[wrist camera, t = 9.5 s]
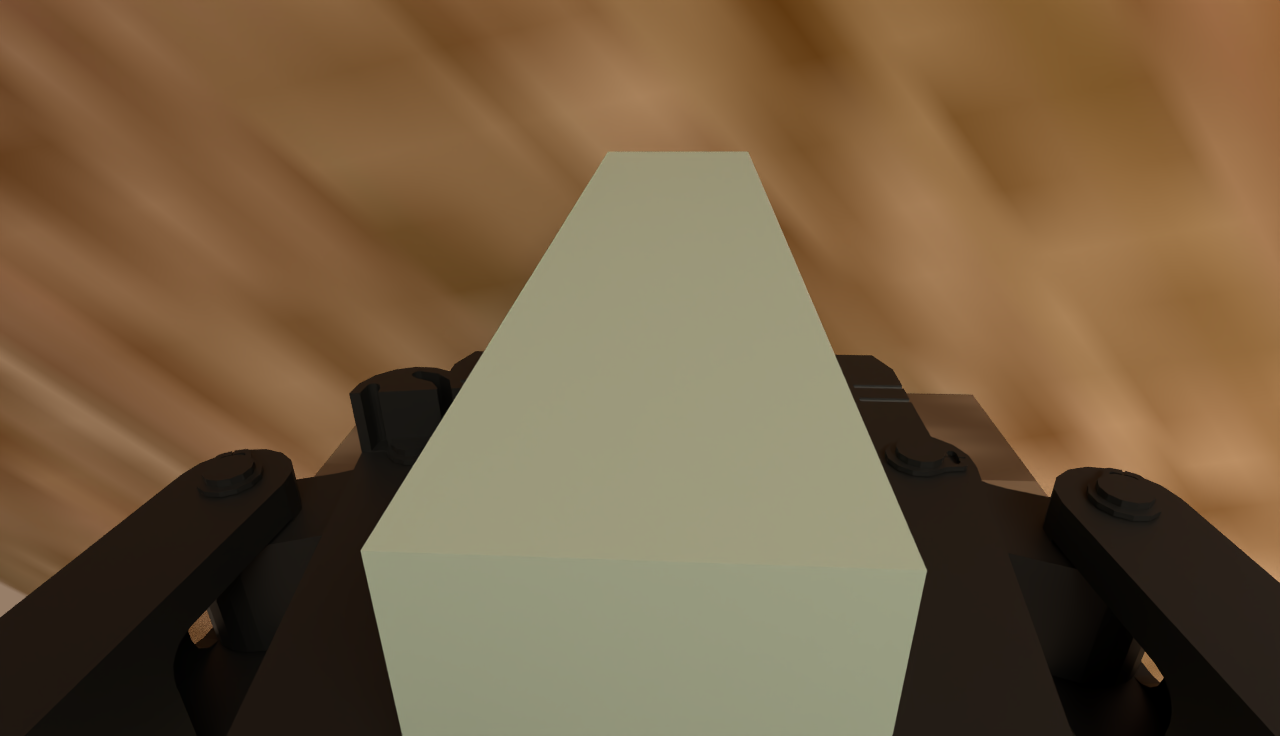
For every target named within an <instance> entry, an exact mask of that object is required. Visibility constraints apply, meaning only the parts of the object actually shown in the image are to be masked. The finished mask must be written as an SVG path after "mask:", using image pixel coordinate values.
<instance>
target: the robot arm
mask: <svg viewBox="0 0 1280 736" xmlns="http://www.w3.org/2000/svg"><path fill="white" fill-rule="evenodd" d="M483 353H484V351H475V352H474V353H472V354H471V355H469V356H467V357H466V358H464V359H462V360H461V361H459V362H458V363H456V364H455V365H454V366H453V368H452V369H451V371H446V370H442V369H438V368H428V367H413V368H405V369H397V370H393V371H389V372H386V373H382V374H379V375H375V376H373V377H371V378H370V379H368V380H366V381H364V382H362V383H360V384H359V385H358V386H357V387H355V388H354V389H353V390H352V391H351V392H350V393H349V394H350V399H351V404H352V408H353V413H354V418H355V423H356V427H357V432H358V437H359V442H360V446H361V451H362V453H361V455H360V457H359V459H358V461H357V463H356V465H355V468H354V470H350V471H345V472H340V473H335V474H329V475H323V476H316V477H310V478H304V479H298V480H296V477H295V473H294V469H293V465H292V462H291V460H290V459H289V458H288V457H287V456H285V455H284V454H283V453H281V452H276V451H272V450H267V449H258V450H248V449H244V450H236V451H235V452H233V453H232V451H231V452H227V453H223V454H220V455H218V456H216V457H215V458H213V459H210V460H207V461H205V462H202V463H200V464H198V465H196V466H195V467H193V468H192V469H190V470H188V471H187V472H185V473H183V474H182V475H180V476H179V477H178V478H177V479H175V480H174V481H173V482H172V483H170V484H169V485H168V486H166V487H165V488H164V489H163V490H161V491H160V492H159V493H158V494H156V495H155V496H154V497H152V498H151V499H150V500H149V501H147V502H146V503H145V504H144V505H142V506H141V507H140V508H139V509H137V510H136V511H135V512H133V513H132V514H131V515H130V516H128V517H127V518H126V519H125V520H123V521H122V522H121V523H120V524H118V525H117V526H116V527H114V528H113V529H112V530H111V531H109V532H108V533H107V534H106V535H104V536H103V537H102V538H100V539H99V540H98V541H97V542H95V543H94V544H93V545H92V546H90V547H89V548H88V549H87V550H85V551H84V552H83V553H81V554H80V555H79V556H78V557H76V558H75V559H74V560H73V561H71V562H70V563H69V564H67V565H66V566H65V567H64V568H62V569H61V570H60V571H59V572H57V573H56V574H55V575H54V576H52V577H51V578H50V579H48V580H47V581H46V582H45V583H43V584H42V585H41V586H40V587H38V588H37V589H36V590H35V591H33V592H32V593H31V594H29V595H28V596H27V597H26V598H24V599H23V600H22V601H21V602H19V603H18V604H17V605H15V606H14V607H13V608H12V609H11V610H9V611H8V612H7V613H6V614H4V615H3V616H2V617H0V736H402V732H401V727H400V723H399V719H398V714H397V710H396V705H395V701H394V697H393V692H392V688H391V683H390V679H389V674H388V670H387V666H386V661H385V657H384V652H383V648H382V643H381V639H380V635H379V630H378V626H377V621H376V617H375V613H374V608H373V604H372V599H371V595H370V590H369V586H368V582H367V577H366V573H365V568H364V564H363V560H362V555H361V549H362V548H363V546H364V544H365V543H366V541H367V540H368V538H369V536H370V535H371V533H372V532H373V530H374V528H375V527H376V525H377V523H378V522H379V520H380V519H381V517H382V515H383V514H384V512H385V511H386V509H387V507H388V506H389V504H390V502H391V501H392V499H393V498H394V496H395V494H396V493H397V491H398V490H399V488H400V486H401V485H402V483H403V482H404V480H405V478H406V477H407V475H408V473H409V472H410V470H411V469H412V467H413V465H414V464H415V462H416V461H417V459H418V457H419V456H420V454H421V453H422V451H423V449H424V448H425V446H426V444H427V443H428V441H429V440H430V438H431V436H432V435H433V433H434V432H435V430H436V428H437V427H438V425H439V423H440V422H441V420H442V419H443V417H444V415H445V414H446V412H447V411H448V409H449V407H450V406H451V404H452V403H453V401H454V399H455V398H456V396H457V394H458V393H459V391H460V390H461V388H462V386H463V385H464V383H465V382H466V380H467V378H468V377H469V375H470V373H471V372H472V370H473V369H474V367H475V365H476V364H477V362H478V361H479V359H480V357H481V356H482V354H483ZM835 356H836V359H837V361H838V363H839V366H840V368H841V370H842V373H843V375H844V378H845V380H846V382H847V385H848V387H849V389H850V392H851V394H852V396H853V399H854V401H855V403H856V406H857V408H858V410H859V413H860V415H861V417H862V420H863V422H864V424H865V427H866V429H867V431H868V434H869V436H870V438H871V441H872V443H873V445H874V448H875V450H876V452H877V455H878V457H879V459H880V462H881V464H882V466H883V469H884V471H885V473H886V476H887V478H888V481H889V483H890V485H891V488H892V490H893V492H894V495H895V497H896V499H897V502H898V504H899V506H900V509H901V511H902V513H903V516H904V518H905V520H906V523H907V525H908V527H909V530H910V532H911V534H912V537H913V539H914V541H915V544H916V546H917V548H918V551H919V553H920V555H921V558H922V560H923V562H924V565H925V567H926V569H927V573H926V578H925V582H924V587H923V592H922V597H921V601H920V606H919V611H918V616H917V621H916V625H915V630H914V635H913V640H912V644H911V649H910V654H909V659H908V664H907V668H906V673H905V678H904V683H903V687H902V692H901V697H900V702H899V707H898V711H897V716H896V721H895V726H894V731H893V735H892V736H1280V583H1279V582H1278V581H1277V580H1276V579H1275V578H1273V577H1272V576H1271V575H1270V574H1269V573H1267V572H1266V571H1265V570H1264V569H1263V568H1262V567H1260V566H1259V565H1258V564H1257V563H1256V562H1255V561H1253V560H1252V559H1251V558H1250V557H1249V556H1248V555H1246V554H1245V553H1244V552H1243V551H1242V550H1241V549H1239V548H1238V547H1237V546H1236V545H1235V544H1234V543H1232V542H1231V541H1230V540H1229V539H1228V538H1227V537H1225V536H1224V535H1223V534H1222V533H1221V532H1220V531H1218V530H1217V529H1216V528H1215V527H1214V526H1213V525H1211V524H1210V523H1209V522H1208V521H1207V520H1206V519H1204V518H1203V517H1202V516H1201V515H1200V514H1199V513H1197V512H1196V511H1195V510H1194V509H1193V508H1192V507H1190V506H1189V505H1188V504H1187V503H1186V502H1185V501H1183V500H1182V499H1181V498H1179V497H1178V496H1176V495H1175V494H1173V493H1172V492H1170V491H1169V490H1167V489H1166V488H1164V487H1163V486H1161V485H1159V484H1156V483H1154V482H1151V481H1149V480H1147V479H1144V478H1143V477H1141V476H1140V475H1137V474H1134V473H1131V472H1127V471H1125V472H1122V470H1118V469H1113V468H1095V467H1083V468H1076V469H1070V470H1067V471H1065V472H1064V473H1062V474H1061V475H1059V476H1058V477H1056V481H1055V484H1054V488H1053V491H1052V495H1051V497H1046V496H1041V495H1036V494H1031V493H1027V492H1022V491H1017V490H1012V489H1007V488H1004V487H1000V486H996V485H992V484H989V483H986V482H984V481H982V480H981V477H980V474H979V471H978V468H977V466H976V465H975V464H974V462H973V461H972V459H971V458H970V457H969V455H967V454H966V453H964V452H963V451H961V450H960V449H958V448H957V447H956V446H954V445H952V444H950V443H947V442H944V441H942V440H939V439H937V438H934V437H931V436H930V434H929V432H928V430H927V429H926V427H925V425H924V423H923V422H922V420H921V418H920V416H919V415H918V413H917V411H916V409H915V408H914V406H913V404H912V402H909V397H908V395H907V394H906V392H905V390H904V389H902V385H901V383H900V381H899V380H898V378H897V376H896V374H895V373H894V371H893V369H891V368H890V367H888V366H887V365H885V364H884V363H882V362H881V361H879V360H878V359H876V358H875V357H873V356H870V355H835ZM206 610H207V611H208V614H209V617H210V619H211V622H212V625H213V628H212V629H211V630H210V631H209V632H208V633H207V635H206V636H205V637H204V638H203V639H201V640H200V641H199V642H197V643H196V644H194V643H193V642H192V640H191V638H190V635H189V632H188V630H189V628H190V627H191V626H192V625H193V624H194V622H195V621H196V620H197V619H198V618H199V617H200V616H201V615H202V614H203V613H204V612H205V611H206ZM1144 652H1146V653H1147V654H1148V656H1149V657H1150V658H1151V659H1152V660H1153V662H1154V663H1155V664H1156V666H1157V667H1158V669H1159V671H1160V672H1161V674H1162V675H1163V677H1164V678H1163V680H1162V681H1161V683H1160V682H1159V681H1158V680H1157V679H1156V678H1154V677H1153V676H1152V674H1151V673H1150V672H1149V671H1148V670H1147V668H1146V667H1145V666H1144V665H1143V663H1142V662H1141V659H1142V657H1143V655H1144Z"/></svg>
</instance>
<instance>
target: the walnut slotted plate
mask: <svg viewBox="0 0 1280 736" xmlns="http://www.w3.org/2000/svg"><path fill="white" fill-rule="evenodd" d="M907 395H908V397H909V402H912V404H913V406H914V408H915V409H916V411H917V413H918V415H919V416H920V418H921V420H922V422H923V423H924V425H925V427H926V429H927V430H928V432H929V434H930V436H931V437H934V438H937V439H939V440H942V441H944V442H947V443H950V444H952V445H954V446H956V447H957V448H958V449H960V450H961V451H963V452H964V453H966V454H967V455H969V457H970V458H971V459H972V461H973V462H974V464H975V465H976V466H977V468H978V471H979V474H980V477H981V480H982V481H984V482H986V483H989V484H992V485H996V486H1000V487H1004V488H1007V489H1012V490H1017V491H1022V492H1027V493H1031V494H1036V495H1041V496H1046V497H1048V496H1047V495H1046V493H1045V492H1044V491H1043V489H1042V488H1041V487H1040V485H1039V484H1038V483H1037V481H1036V480H1035V478H1034V477H1033V476H1032V474H1031V473H1030V472H1029V470H1028V469H1027V468H1026V466H1025V465H1024V464H1023V462H1022V461H1021V460H1020V458H1019V457H1018V456H1017V454H1016V453H1015V452H1014V450H1013V449H1012V447H1011V446H1010V445H1009V443H1008V442H1007V441H1006V439H1005V438H1004V437H1003V435H1002V434H1001V433H1000V431H999V430H998V429H997V427H996V426H995V425H994V423H993V422H992V421H991V419H990V418H989V416H988V415H987V414H986V412H985V411H984V410H983V408H982V407H981V406H980V404H979V403H978V402H977V400H976V399H975V398H974V396H973V395H954V394H907ZM361 453H362V451H361V446H360V442H359V437H358V432H357V427H356V426H355V427H354V428H353V429H352V431H351V432H350V433H349V434H348V436H347V437H346V438H345V439H344V440H343V442H342V443H341V444H340V445H339V447H338V448H337V449H336V450H335V452H334V453H333V454H332V455H331V456H330V458H329V459H328V460H327V461H326V463H325V464H324V465H323V466H322V468H321V469H320V470H319V471H318V472H317V474H316V475H315V476H314V477H316V476H323V475H329V474H335V473H340V472H345V471H350V470H354V468H355V465H356V463H357V461H358V459H359V457H360V455H361Z"/></svg>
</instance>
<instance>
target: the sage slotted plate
mask: <svg viewBox="0 0 1280 736" xmlns="http://www.w3.org/2000/svg"><path fill="white" fill-rule="evenodd" d="M361 555H362V560H363V564H364V568H365V573H366V577H367V582H368V586H369V590H370V595H371V599H372V604H373V608H374V613H375V617H376V621H377V626H378V630H379V635H380V639H381V643H382V648H383V652H384V657H385V661H386V666H387V670H388V674H389V679H390V683H391V688H392V692H393V697H394V701H395V705H396V710H397V714H398V719H399V723H400V727H401V732H402V736H892V735H893V731H894V726H895V721H896V716H897V711H898V707H899V702H900V697H901V692H902V687H903V683H904V678H905V673H906V668H907V664H908V659H909V654H910V649H911V644H912V640H913V635H914V630H915V625H916V621H917V616H918V611H919V606H920V601H921V597H922V592H923V587H924V582H925V578H926V573H927V569H926V567H925V565H924V562H923V560H922V558H921V555H920V553H919V551H918V548H917V546H916V544H915V541H914V539H913V537H912V534H911V532H910V530H909V527H908V525H907V523H906V520H905V518H904V516H903V513H902V511H901V509H900V506H899V504H898V502H897V499H896V497H895V495H894V492H893V490H892V488H891V485H890V483H889V481H888V478H887V476H886V473H885V471H884V469H883V466H882V464H881V462H880V459H879V457H878V455H877V452H876V450H875V448H874V445H873V443H872V441H871V438H870V436H869V434H868V431H867V429H866V427H865V424H864V422H863V420H862V417H861V415H860V413H859V410H858V408H857V406H856V403H855V401H854V399H853V396H852V394H851V392H850V389H849V387H848V385H847V382H846V380H845V378H844V375H843V373H842V370H841V368H840V366H839V363H838V361H837V359H836V356H835V354H834V352H833V349H832V347H831V345H830V342H829V340H828V338H827V335H826V333H825V331H824V328H823V326H822V324H821V321H820V319H819V317H818V314H817V312H816V310H815V307H814V305H813V303H812V300H811V298H810V296H809V293H808V291H807V289H806V286H805V284H804V282H803V279H802V277H801V275H800V272H799V270H798V267H797V265H796V263H795V260H794V258H793V256H792V253H791V251H790V249H789V246H788V244H787V242H786V239H785V237H784V235H783V232H782V230H781V228H780V225H779V223H778V221H777V218H776V216H775V214H774V211H773V209H772V207H771V204H770V202H769V200H768V197H767V195H766V193H765V190H764V188H763V186H762V183H761V181H760V179H759V176H758V174H757V172H756V169H755V167H754V164H753V162H752V160H751V157H750V155H749V153H748V152H608V153H607V154H606V156H605V157H604V159H603V161H602V162H601V164H600V165H599V167H598V169H597V170H596V172H595V174H594V175H593V177H592V178H591V180H590V182H589V183H588V185H587V186H586V188H585V190H584V191H583V193H582V195H581V196H580V198H579V199H578V201H577V203H576V204H575V206H574V207H573V209H572V211H571V212H570V214H569V215H568V217H567V219H566V220H565V222H564V224H563V225H562V227H561V228H560V230H559V232H558V233H557V235H556V236H555V238H554V240H553V241H552V243H551V244H550V246H549V248H548V249H547V251H546V253H545V254H544V256H543V257H542V259H541V261H540V262H539V264H538V265H537V267H536V269H535V270H534V272H533V274H532V275H531V277H530V278H529V280H528V282H527V283H526V285H525V286H524V288H523V290H522V291H521V293H520V294H519V296H518V298H517V299H516V301H515V303H514V304H513V306H512V307H511V309H510V311H509V312H508V314H507V315H506V317H505V319H504V320H503V322H502V324H501V325H500V327H499V328H498V330H497V332H496V333H495V335H494V336H493V338H492V340H491V341H490V343H489V344H488V346H487V348H486V349H485V351H484V353H483V354H482V356H481V357H480V359H479V361H478V362H477V364H476V365H475V367H474V369H473V370H472V372H471V373H470V375H469V377H468V378H467V380H466V382H465V383H464V385H463V386H462V388H461V390H460V391H459V393H458V394H457V396H456V398H455V399H454V401H453V403H452V404H451V406H450V407H449V409H448V411H447V412H446V414H445V415H444V417H443V419H442V420H441V422H440V423H439V425H438V427H437V428H436V430H435V432H434V433H433V435H432V436H431V438H430V440H429V441H428V443H427V444H426V446H425V448H424V449H423V451H422V453H421V454H420V456H419V457H418V459H417V461H416V462H415V464H414V465H413V467H412V469H411V470H410V472H409V473H408V475H407V477H406V478H405V480H404V482H403V483H402V485H401V486H400V488H399V490H398V491H397V493H396V494H395V496H394V498H393V499H392V501H391V502H390V504H389V506H388V507H387V509H386V511H385V512H384V514H383V515H382V517H381V519H380V520H379V522H378V523H377V525H376V527H375V528H374V530H373V532H372V533H371V535H370V536H369V538H368V540H367V541H366V543H365V544H364V546H363V548H362V549H361Z"/></svg>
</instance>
